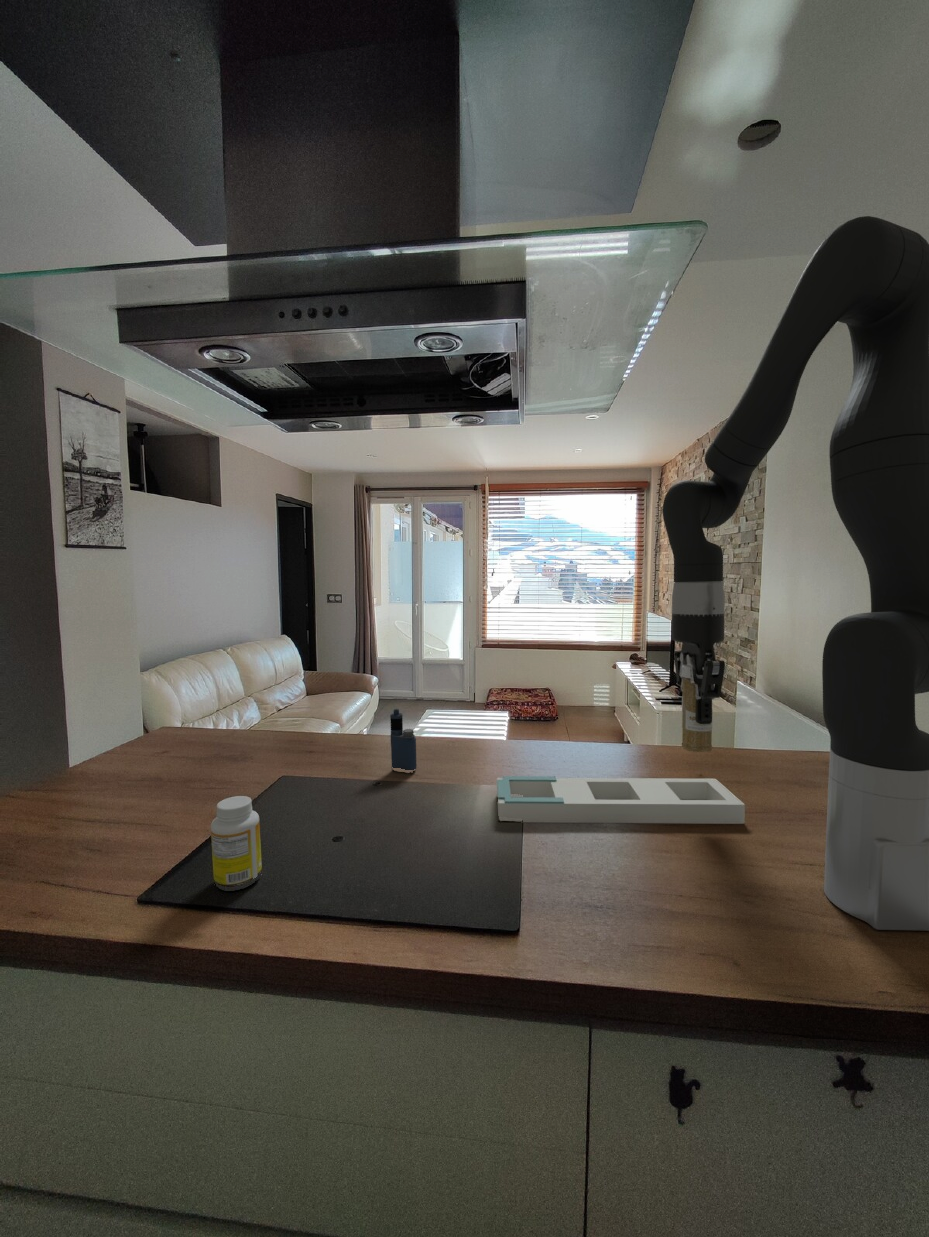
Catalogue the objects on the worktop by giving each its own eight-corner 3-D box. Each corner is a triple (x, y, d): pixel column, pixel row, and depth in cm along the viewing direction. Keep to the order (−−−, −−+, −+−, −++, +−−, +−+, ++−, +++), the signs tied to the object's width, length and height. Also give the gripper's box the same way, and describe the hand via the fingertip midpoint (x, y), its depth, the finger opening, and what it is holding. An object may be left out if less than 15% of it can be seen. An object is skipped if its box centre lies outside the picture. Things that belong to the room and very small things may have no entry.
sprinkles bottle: (695, 755, 79) (695, 667, 78) (674, 746, 83) (675, 663, 82) (719, 751, 80) (720, 666, 79) (698, 743, 84) (698, 662, 84)
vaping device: (395, 766, 103) (394, 707, 102) (418, 770, 101) (417, 710, 100) (388, 771, 101) (387, 710, 100) (412, 774, 99) (411, 713, 98)
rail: (744, 823, 78) (745, 802, 77) (498, 822, 79) (498, 801, 79) (714, 795, 88) (715, 776, 87) (497, 794, 89) (496, 776, 89)
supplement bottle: (241, 864, 68) (237, 789, 67) (271, 875, 66) (268, 797, 65) (203, 887, 63) (199, 806, 63) (234, 899, 61) (230, 815, 60)
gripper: (745, 613, 73) (743, 731, 74) (702, 608, 87) (702, 708, 88) (691, 614, 73) (690, 732, 74) (658, 609, 88) (657, 709, 89)
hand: (696, 718), depth 81 cm, fingers closed on sprinkles bottle, 4 cm apart
